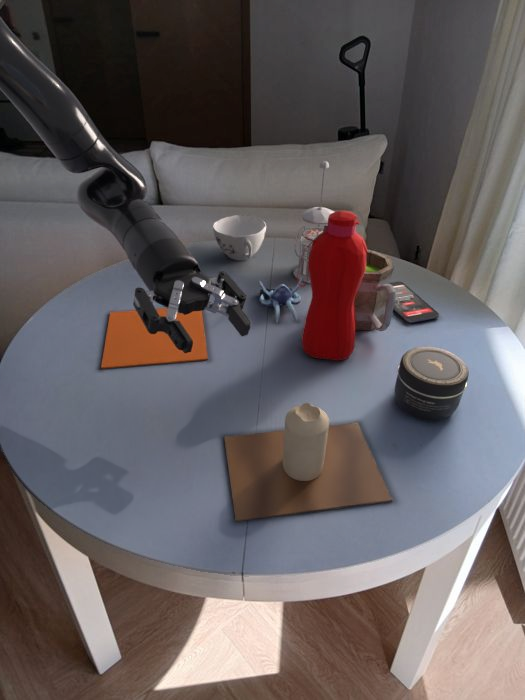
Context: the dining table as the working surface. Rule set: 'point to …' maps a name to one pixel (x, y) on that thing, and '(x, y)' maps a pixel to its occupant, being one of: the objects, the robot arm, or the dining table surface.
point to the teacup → (239, 235)
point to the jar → (430, 383)
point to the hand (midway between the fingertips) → (219, 339)
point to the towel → (150, 341)
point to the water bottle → (334, 288)
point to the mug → (375, 294)
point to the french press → (311, 232)
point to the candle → (305, 442)
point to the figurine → (280, 298)
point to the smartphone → (411, 304)
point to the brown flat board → (301, 496)
